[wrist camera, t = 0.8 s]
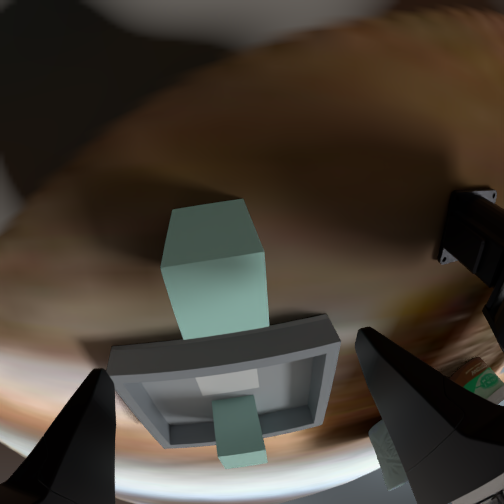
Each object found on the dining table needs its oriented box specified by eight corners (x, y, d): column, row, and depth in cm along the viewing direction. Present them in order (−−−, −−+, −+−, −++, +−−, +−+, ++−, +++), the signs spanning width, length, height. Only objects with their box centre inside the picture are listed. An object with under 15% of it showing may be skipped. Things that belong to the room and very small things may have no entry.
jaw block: (243, 198, 16) (264, 251, 11) (249, 259, 18) (269, 326, 13) (172, 209, 16) (160, 267, 11) (185, 268, 18) (183, 339, 13)
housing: (326, 313, 22) (360, 379, 16) (314, 402, 29) (331, 451, 23) (111, 346, 20) (98, 416, 15) (164, 425, 27) (165, 476, 22)
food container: (494, 340, 34) (525, 379, 26) (484, 360, 38) (510, 397, 29) (443, 374, 34) (473, 422, 26) (434, 393, 37) (460, 436, 29)
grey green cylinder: (399, 404, 36) (430, 466, 25) (425, 405, 39) (452, 456, 29) (353, 438, 39) (375, 496, 29) (384, 436, 43) (406, 485, 33)
